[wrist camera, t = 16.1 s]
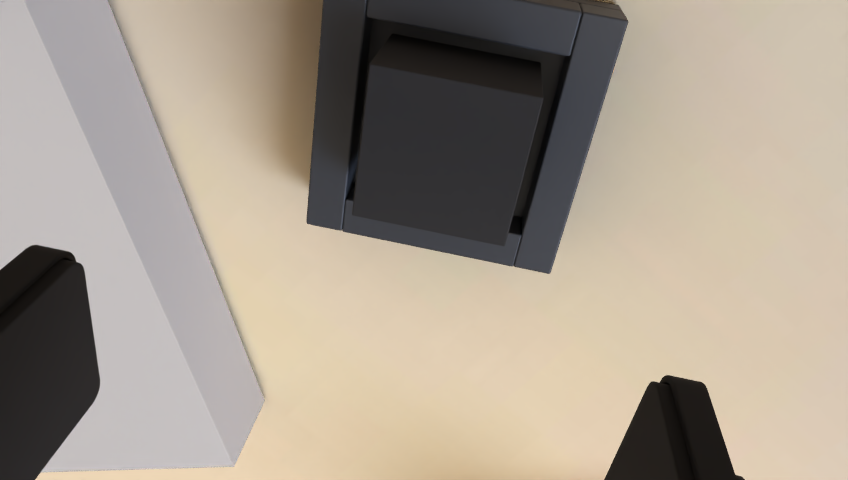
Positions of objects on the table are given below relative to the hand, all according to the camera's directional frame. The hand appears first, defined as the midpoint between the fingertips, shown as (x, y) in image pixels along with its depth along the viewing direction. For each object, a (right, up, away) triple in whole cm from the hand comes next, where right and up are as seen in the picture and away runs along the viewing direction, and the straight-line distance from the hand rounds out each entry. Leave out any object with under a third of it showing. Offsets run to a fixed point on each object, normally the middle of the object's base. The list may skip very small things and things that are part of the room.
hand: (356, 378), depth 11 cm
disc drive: (-18, +3, +21) cm, 28 cm away
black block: (+2, +7, +14) cm, 16 cm away
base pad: (+2, +7, +15) cm, 17 cm away
